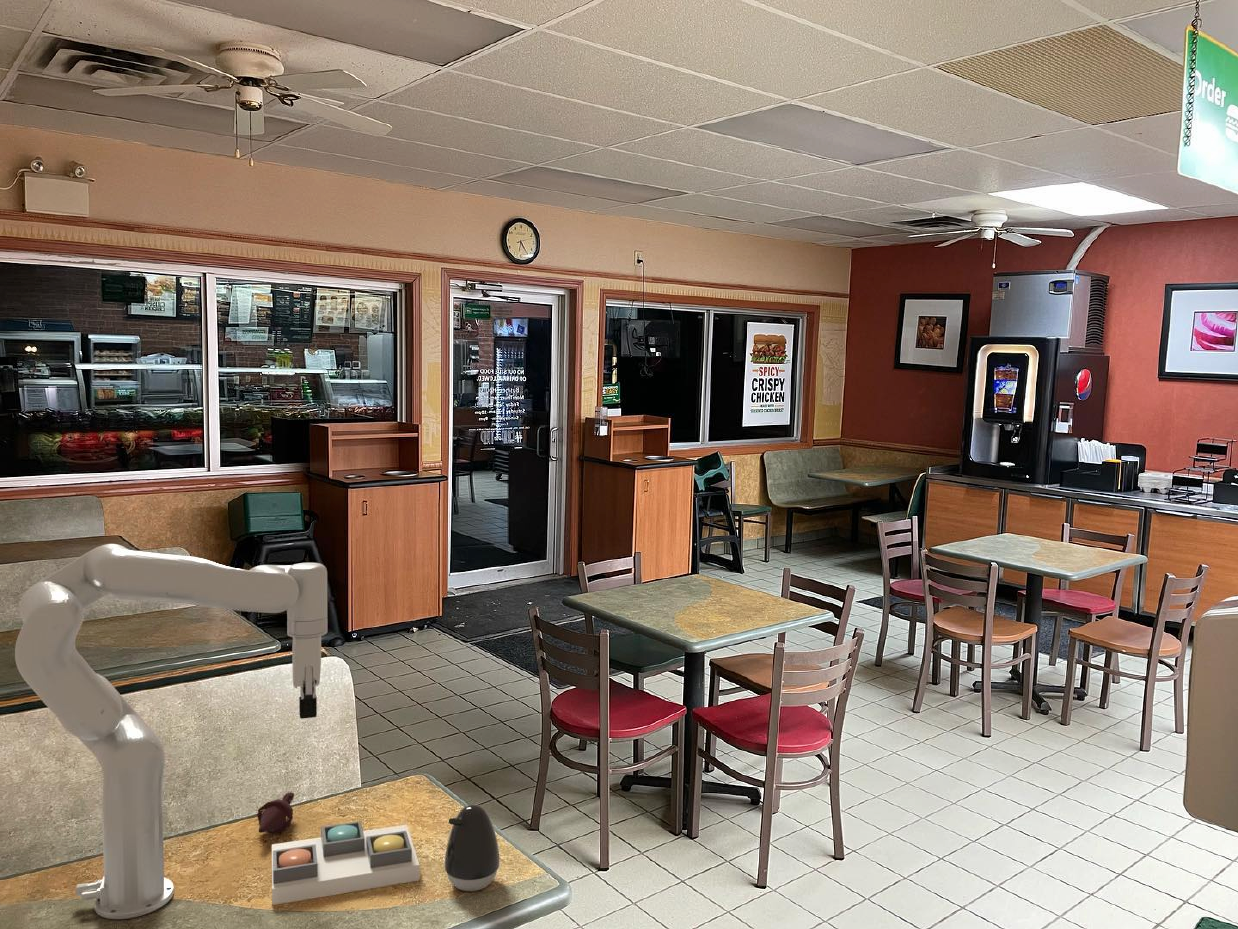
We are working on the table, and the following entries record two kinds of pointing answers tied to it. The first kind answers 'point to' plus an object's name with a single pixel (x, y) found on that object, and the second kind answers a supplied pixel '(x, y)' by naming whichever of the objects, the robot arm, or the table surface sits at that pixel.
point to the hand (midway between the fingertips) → (308, 716)
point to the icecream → (276, 815)
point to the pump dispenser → (472, 850)
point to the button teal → (342, 833)
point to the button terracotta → (294, 858)
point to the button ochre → (388, 843)
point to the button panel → (343, 865)
